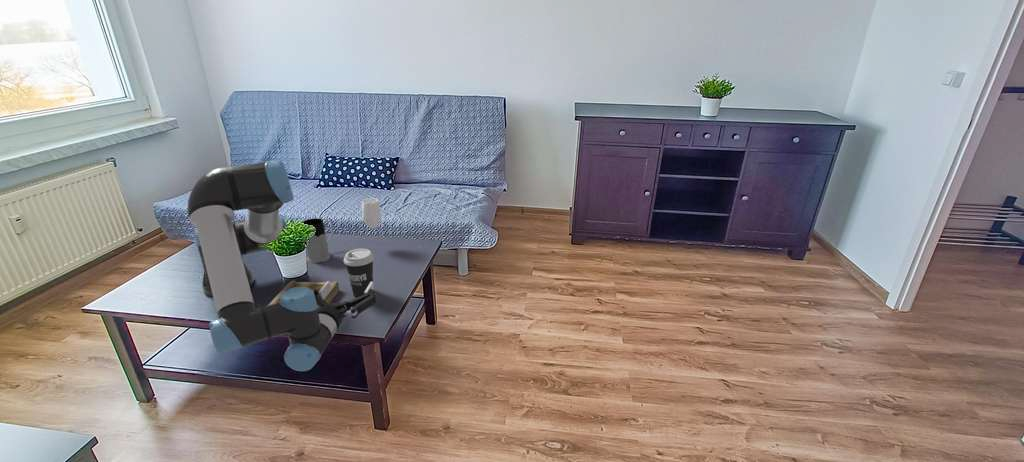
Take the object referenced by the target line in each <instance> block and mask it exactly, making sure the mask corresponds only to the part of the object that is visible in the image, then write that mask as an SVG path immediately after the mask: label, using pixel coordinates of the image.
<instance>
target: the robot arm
mask: <svg viewBox="0 0 1024 462" xmlns="http://www.w3.org/2000/svg"><path fill="white" fill-rule="evenodd" d="M188 197H189V198H188V199H187V200H188V201H187V214H188V219H189V223H190V224H191V225H192V226H194V227H196V228H195V230H194V238H195V239H194V240H195V245H196V246H197V250H198V253H199V256H200V260H201V263H202V267H203V275H202V277H203V278H202V289H203V293H204V294H205V295H206V296H208V297H209V296H210V297H212V298H213V301H214V304H215V305H214V306H215V310H216V313H217V318H216V319H214V320H211V321H210V322H209V324H208V325H209V326H208V327H209V331H210V335H211V340H212V343H213V346H214V349H215V350H216V352H218V353H225V352H230V351H233V350H238V349H242V348H244V347H246V346H247V347H248V346H250V345H253V344H256V343H259V342H262V341H266V340H269V339H273V338H276V337H280V336H283V335H287V336H288V341H289V346H287V348H286V349H285V350H286V351H285V352H284V355H283V357H284V358H283V359H284V362H285V364H286V365H287V367H288V368H290V369H292V370H294V371H297V372H307V371H310V370H312V368H313V367H314V366H315V365H316V364H317V362H318V361H320V359H321V357H322V356H323V353H324V352H325V350H326V348H327V347H328V345H329V343H330V342H331V341H332V339H333V337H334V336H335V334H336V332H337V331H338V329H339V328H340V326H341V324H342V323H343V320H344V318H346V317H347V316H350V317H351V319H357V317H358V316H359V315H360V314H361V313H362V312H364V311H366V310H367V309H369V308H370V307H372V306H373V305H375V304H376V303H377V296H376V293H375V292H374V291H375V286H374V281H373V282H370V284H369V285H368V287H367V289H366V290H365V292H364V295H362V296H360V297H357V298H355V297H354V298H353V299H351V300H345V301H342V302H337V303H336V302H331V303H330V304H328V303H327V302H326V301H324V300H323V298H324V297H325V296H326V294H327V293H328V292H329V290H330V289H331V288H330V282H331V281H329V280H327V281H326V283H325V284H324V286H323V287H322V288H321V289H318V291H317V290H315V291H312V290H311V289H310V288H307V287H294V288H291V289H289V290H288V291H285V292H283V293H282V294H281V296H280V302H279V303H275V304H272V305H269V304H268V305H265V306H262V307H258V308H256V306H255V302H254V297H253V294H252V290H251V286H252V285H253V284H254V282H255V279H254V275H253V273H252V271H251V270H250V269H249V267H248V266H247V264H246V263H245V261H244V259H243V256H245V255H246V256H247V255H249V254H253V253H259V252H265V251H267V250H270V249H269V248H265V247H259V246H263V245H264V244H269V243H271V242H273V241H274V240H276V239H277V238H278V236H279V235H280V233H281V232H282V230H283V228H285V227H287V228H288V224H287V221H286V219H285V216H283V215H282V214H281V213H280V209H281V208H282V207H283V205H284V204H287V203H289V202H293V201H294V194H293V189H292V186H291V182H290V179H289V176H288V172H287V170H286V167H285V164H284V162H282V161H280V160H272V161H271V160H267V161H264V162H255V163H246V164H240V165H239V164H238V165H232V166H231V165H230V166H220V167H216V168H214V169H211V170H209V171H207V172H205V174H203V175H202V176H200V177H199V179H198V180H197V182H196V183H195V185H194V186H193V187H192V189H191V192H190V193H189V196H188ZM242 210H247V211H246V212H247V217H246V218H245V219H242V220H237V221H235V220H234V219H235V215H236V214H235V212H236V211H242ZM373 290H374V291H373ZM317 304H318V305H317ZM318 306H319V307H320V308H318Z"/></svg>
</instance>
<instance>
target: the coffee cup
mask: <svg viewBox="0 0 1024 462" xmlns="http://www.w3.org/2000/svg"><path fill="white" fill-rule="evenodd" d="M374 260H375V255H373V253H372V252H371V250H369V249H367V248H355V249H351V250H349V251H348V252H346V253H345V256H344V258H343V263H344V264H345V267H346V270H347V273H348V278H349V283H350V287H351V291H352V294H353V297H354V299H355V298H357V297H360V296H362V295H364V292H365V290H366V289H367V287H368V285H369V284H370V282H373V283H374ZM373 291H375V289H374V290H373Z"/></svg>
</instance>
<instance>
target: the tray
mask: <svg viewBox="0 0 1024 462" xmlns="http://www.w3.org/2000/svg"><path fill="white" fill-rule="evenodd" d="M326 282H327V281H326ZM326 282H325V281H324V282H322V281H321V282H320V281H319V282H317V281H297V280H290V281H289V282H288V283H287V284H286V285H285V286H284V288H282V289H281V291H280V292H279V293H278V294H277V295H276V296H275V297H273V299H272V300H271V302H270V303H269V304H268V305H272V304H275V303H279V302H280V296H281V294H282V293H283V292H285V291H288V290H289V289H291V288H294V287H307V288H310V289H311V290H312V291H315V290H317V291H318V289H321V288H322V287H323V286H324V284H325V283H326ZM329 282H330V288H331V289H330V290H329V292H328V293H327V294H326V296H325V297H324V298H323V300H324V301H326V302H327V303H328V304H330V303H332V302H333V300H334V299H335V297H336V296H337V294H338V293H339V292H340V286H339V281H335V280H334V281H332V282H331V281H329ZM317 305H318V304H317ZM318 308H320V307H319V306H318Z"/></svg>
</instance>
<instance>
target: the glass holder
mask: <svg viewBox="0 0 1024 462" xmlns="http://www.w3.org/2000/svg"><path fill="white" fill-rule="evenodd" d="M328 220H330V223H331V228H330V229H331V230H330V234H329V237H328V239H327V235H326V230H327V228H326V222H327V221H328ZM302 223H304V224H308V225H313V226H314V227H315V228H316V232H315V234H314V235H313V237H312V238H311V239H310V241H309V243H308V245H307V248H306V247H305V251H306V261H307V262H308V263H314V264H316V263H323V262H325V261H327V260H329V259H330V258H331V254H330V251H329V246H328V244H329V242H330V240H331V238H332V236H333V232H334V222H333V219H332V218H330V217H326V218H325V219H324V220H323V219H321V218H309V219H306V220H304V221H302V222H301V224H302Z"/></svg>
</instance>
